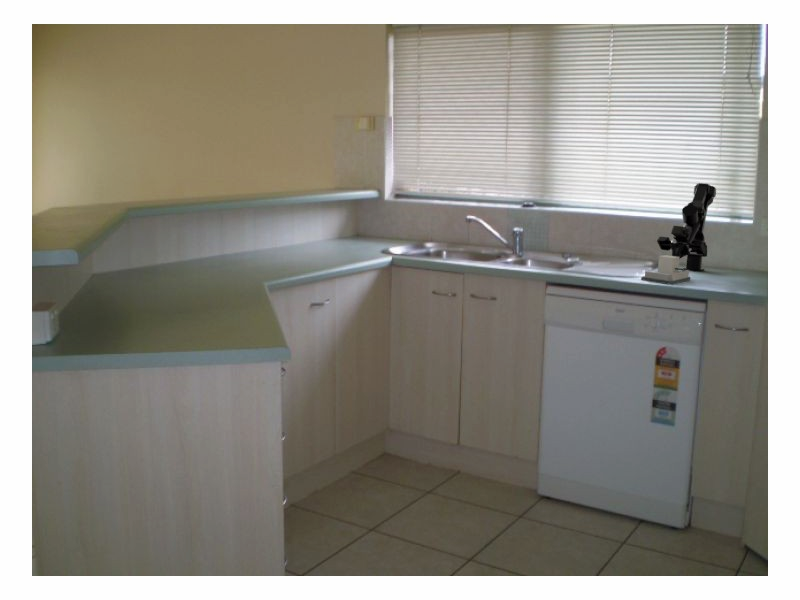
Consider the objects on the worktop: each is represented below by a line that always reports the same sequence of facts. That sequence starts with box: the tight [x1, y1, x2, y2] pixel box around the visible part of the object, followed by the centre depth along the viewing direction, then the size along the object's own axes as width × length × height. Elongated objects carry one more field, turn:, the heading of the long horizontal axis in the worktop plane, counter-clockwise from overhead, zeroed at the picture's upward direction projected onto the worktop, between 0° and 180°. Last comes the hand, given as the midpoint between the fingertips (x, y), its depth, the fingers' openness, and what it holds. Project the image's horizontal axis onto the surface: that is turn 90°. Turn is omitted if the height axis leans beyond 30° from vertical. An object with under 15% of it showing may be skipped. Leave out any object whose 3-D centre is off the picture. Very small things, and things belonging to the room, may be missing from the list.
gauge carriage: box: [657, 254, 683, 274], centre depth 348 cm, size 5×9×8 cm, turn 45°
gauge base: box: [640, 270, 691, 285], centre depth 349 cm, size 14×13×4 cm
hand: (672, 261), depth 350 cm, fingers closed, pressing on gauge carriage
